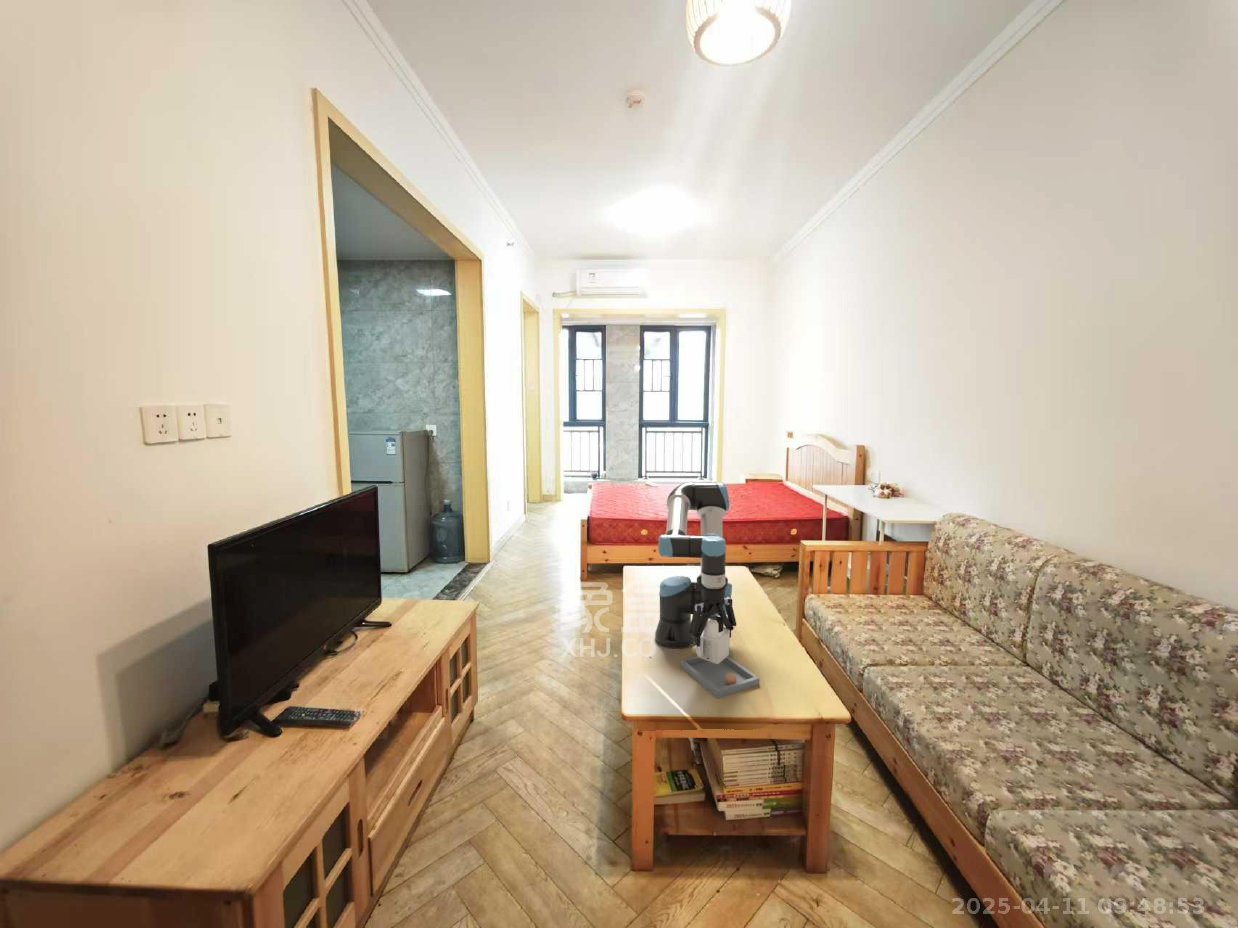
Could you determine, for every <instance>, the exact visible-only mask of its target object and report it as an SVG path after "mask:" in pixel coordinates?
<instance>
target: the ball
mask: <svg viewBox="0 0 1238 928" xmlns="http://www.w3.org/2000/svg"><path fill="white" fill-rule="evenodd" d="M725 681H726V683H727V684H728V685H731V684H734V683H736V676H735V675H734V674H733V673H728V674H726V676H725Z"/></svg>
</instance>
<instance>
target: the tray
mask: <svg viewBox="0 0 1238 928" xmlns="http://www.w3.org/2000/svg"><path fill="white" fill-rule="evenodd" d="M680 667H681V669H683V670H684V671H685V672H687V674H689V676H691V677H693V679H695V681H696V682H698V683H699V684H700V685H702V686H703V688H705V689H706V690H708V691H709V692H710V693H711V694H712V695H713V696H715V698H716V699H720V698H724V697H727V696H729V695H732V694H734V693H737V692H740V691H743V690H746V689H751V688H753V687H756V686H758V685H760V677H759V676H757V675H756V674H755V673H753V672H752V671H750V670H749V669H747V668H746V667H745V666H743V665H742V664H741V663H739V662H737V661H736V660H735V659H733V658H732V657H730V656H729V655H728V656H727V657H726V658H725V659H724V660H722V661H721V662H720V663H719V664H716V663H713V662H710V661H707V660H704V659H702V658H699V657H697V655H696V656H692V657H689V658H685V659H683V660H680ZM728 673H733V674H734V675H735V676H736V683H734V684H731V685H728V684H727V683H726V681H725V676H726V674H728Z"/></svg>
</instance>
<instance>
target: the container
mask: <svg viewBox="0 0 1238 928" xmlns="http://www.w3.org/2000/svg"><path fill="white" fill-rule="evenodd" d="M724 627H725V625H724V621H723V619H722V618H721V617H720V616H714V615H711V617H710V618H709V619H708V621H707V623H706V626H705V628H704V630H703V633H702V635H701V636H702V637H703V657H700V656H699V655H698V654H696V656H697V657H699V658H702V659H704V660H707V661H710V662H713V663H716V664H719V663H720V662H721V661H722V660H724V659H725V658H726V657H727V656H729V655H730V649H729V633H728V632H724Z"/></svg>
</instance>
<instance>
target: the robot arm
mask: <svg viewBox="0 0 1238 928" xmlns="http://www.w3.org/2000/svg"><path fill="white" fill-rule="evenodd" d="M666 507H667V510H668V511H667V521H666V529H665V534H661V535H659V536H658V543H657V545H658V548H657V550H658V555H659V556H660V557H666V558H691V559H700V574H699V575H698V576H697V577H696V582H695V581H692V579H691V578H690V577H688V576H684V575H675V576H670V577H667V578H664V579H663V580H662V581H661V582H660V584H659V593H658V596H659V620H658V622H657V623H658V624H657V626H656V630H655V632H654V633H655V635H654V636H655V637H654V640H655V641H656V642H657V643H658V644H659V645H661V646H663V647H666V648H669V649H683V648H689V647H691V646H692V645H694V646H695V648H696V649H695V653H696V655H697V654H698V655H699V656H700V657H703V637H702V636H701V635H702V633H703V630H704V628H705V626H706V623H707V621H708V619H709V618H710V617H711V615H714V616H718V617H721V618H722V619H723V621H724V632H728V633H729V650H730V647H731V646H730V645H731V643H730V640H731V637H732V631H733V630H734V629H735V628H734V627H737V620H736V616H735V611H734V608H733V598H732V594H733V593H732V592H733V585H732V583H731V582H729V580H728V579H729V578H728V577H727V575H726V554H727V553H726V551H727V546H726V545H727V544H726V539H725V538H723V537H724V536H723V533H724V532H723V518H724V517H725V516H726V514H727V513H726V512H727V511H730V497H729V491H728V487H727V485H726V483H724V482H716V481H713V482H701V481H700V482H694V481H688V482H684V483H682V484H679V485H677V486H676V487H675V488H673V489H672V491H671V492H669V494H668V497H667V499H666ZM689 511H696V514H697V516H699V518H700V535H689V534H688V516H689V515H688V513H689ZM691 615H692V617H691Z"/></svg>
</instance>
